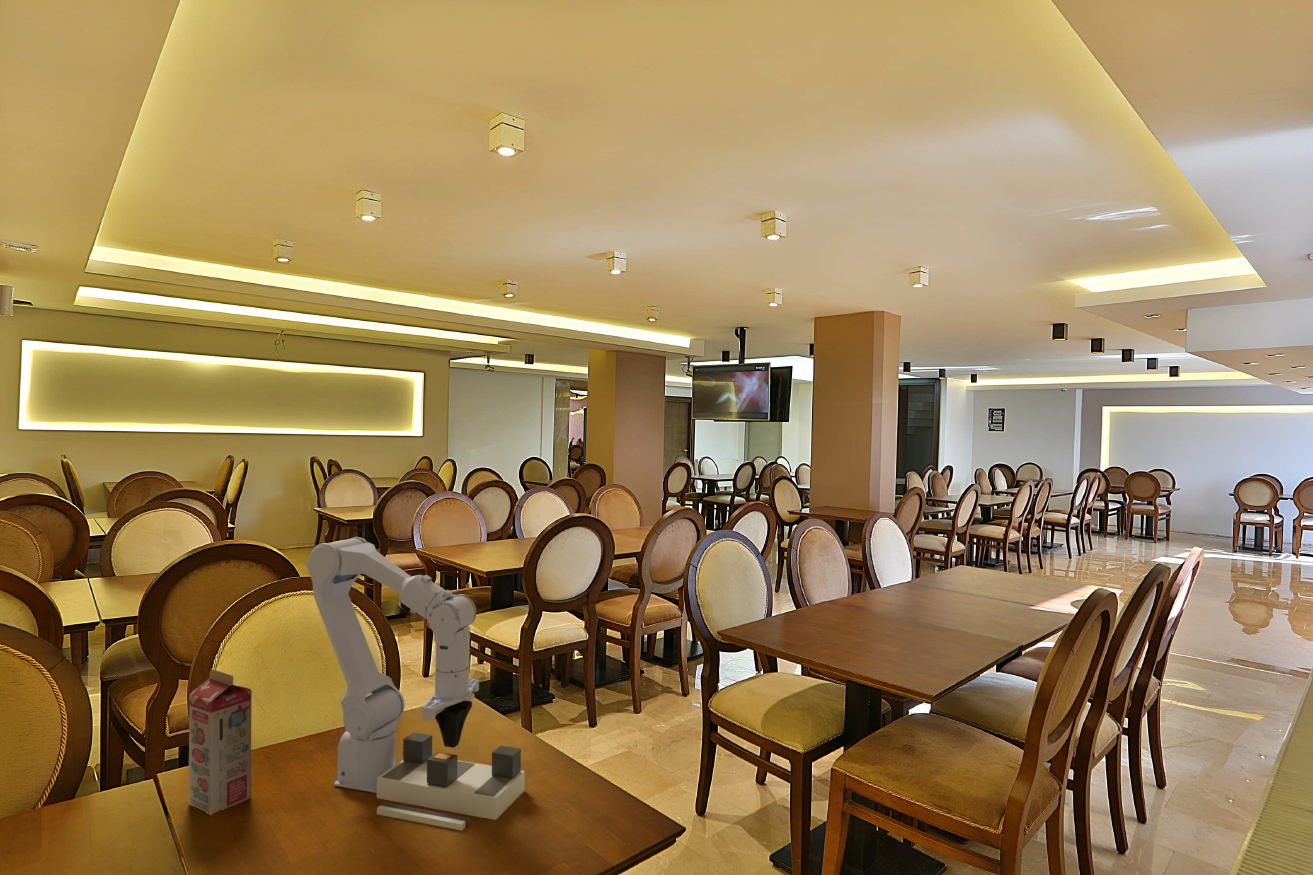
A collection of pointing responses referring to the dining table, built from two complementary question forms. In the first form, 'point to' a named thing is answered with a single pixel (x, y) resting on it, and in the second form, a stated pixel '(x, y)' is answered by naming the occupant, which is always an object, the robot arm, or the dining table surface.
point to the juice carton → (219, 743)
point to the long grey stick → (423, 816)
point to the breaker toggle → (442, 769)
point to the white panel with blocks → (468, 794)
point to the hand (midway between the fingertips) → (451, 745)
